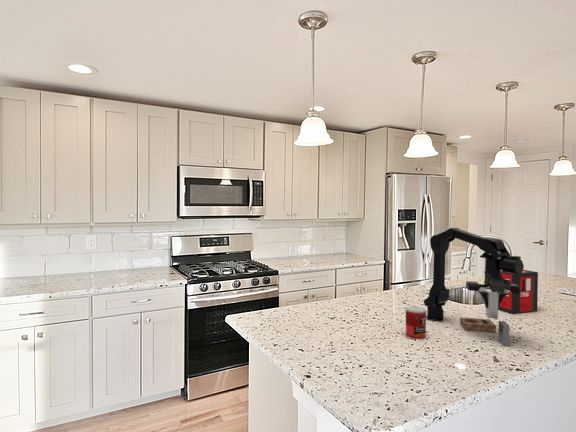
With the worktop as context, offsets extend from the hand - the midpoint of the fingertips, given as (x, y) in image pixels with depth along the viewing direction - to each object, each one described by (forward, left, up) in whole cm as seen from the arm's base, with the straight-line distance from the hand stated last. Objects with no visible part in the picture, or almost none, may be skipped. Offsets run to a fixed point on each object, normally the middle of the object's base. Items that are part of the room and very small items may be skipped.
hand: (491, 308), depth 146 cm
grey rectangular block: (+2, -7, -12) cm, 14 cm away
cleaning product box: (+24, +45, -12) cm, 52 cm away
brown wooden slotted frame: (-3, +10, -12) cm, 15 cm away
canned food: (-30, -6, -12) cm, 33 cm away
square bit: (0, 0, -4) cm, 4 cm away
